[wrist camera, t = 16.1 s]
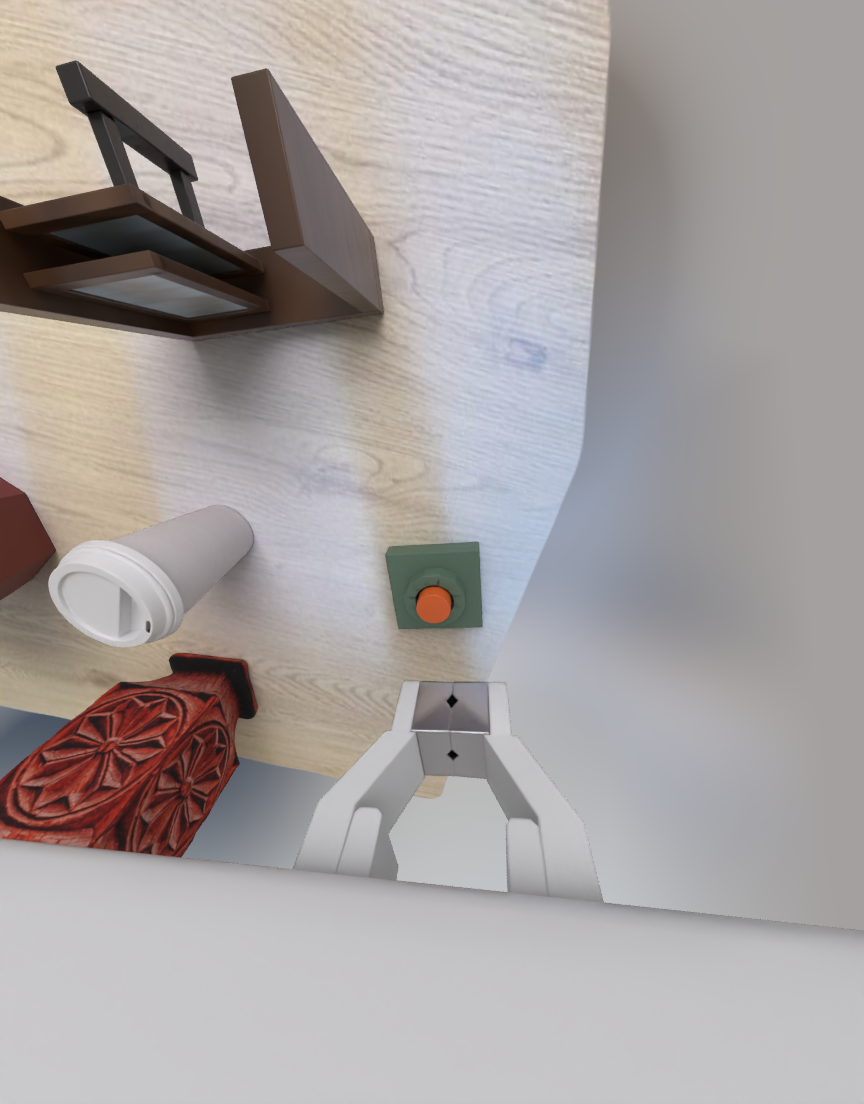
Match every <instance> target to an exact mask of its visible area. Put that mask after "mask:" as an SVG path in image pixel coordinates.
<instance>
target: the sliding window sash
mask: <svg viewBox="0 0 864 1104" xmlns="http://www.w3.org/2000/svg"><path fill="white" fill-rule="evenodd" d="M56 70H57V73H58V75H59V78H60V80H61V83H62V86H63V88H64V91H65V93H66V96H67V98H68V101H69V103H70V104H71V105H72V106H73V107H75V108H76V109H77V110H79V111H80V112H82V113H83V114H85V115H86V116H87V117H88V118H89V121H90V124H91V126H92V129H93V132H94V134H95V137H96V140H97V142H98V145H99V148H100V150H101V153H102V156H103V158H104V161H105V164H106V166H107V169H108V172H109V174H110V177H111V180H112V182H113V185H114V187H109V188H105V189H100V190H96V191H91V192H86V193H82V194H77V195H73V196H68V197H63V198H59V199H54V200H50V201H45V202H40V203H36V204H31V205H27V206H22V207H17V208H13V209H8V210H4V211H0V219H1V221H2V223H3V225H4V227H5V229H6V230H8V231H11V232H14V233H17V234H20V235H23V236H26V237H30V238H33V239H36V240H39V241H42V242H45V243H48V244H51V245H54V246H57V247H60V248H63V249H66V250H68V251H71V252H74V253H77V254H80V255H83V256H86V257H89V258H92V259H95V260H98V259H103V258H108V257H114V256H119V255H124V254H130V253H135V252H140V251H146V250H150V251H152V252H154V253H157V254H159V255H161V256H164V257H166V258H169V259H171V260H173V261H176V262H178V263H180V264H183V265H185V266H187V267H190V268H192V269H195V270H197V271H199V272H202V273H204V274H206V275H209V276H211V277H214V278H216V279H218V280H226V279H232V278H238V277H244V276H250V275H256V274H262V273H264V269H263V265H262V262H261V261H259V260H257V259H256V258H254V257H252V256H250V255H249V254H247V253H245V252H244V251H242V250H240V249H239V248H237V247H235V246H234V245H232V244H230V243H229V242H227V241H225V240H224V239H222V238H220V237H219V236H217V235H215V234H213V233H212V232H210V231H208V230H207V229H205V227H204V224H203V220H202V217H201V214H200V210H199V207H198V204H197V200H196V197H195V194H194V190H193V187H192V184H191V182H193V181H198V177H197V174H196V170H195V167H194V163H193V160H192V157H191V155H190V154H189V153H188V152H187V151H185V150H184V149H183V148H182V147H181V146H179V145H178V144H177V143H176V142H175V141H173V140H172V139H171V138H170V137H169V136H167V135H166V134H165V133H164V132H163V131H161V130H160V129H159V128H158V127H157V126H155V125H154V124H153V123H152V122H151V121H149V120H148V119H147V118H146V117H144V116H143V115H142V114H141V113H140V112H138V111H137V110H136V109H135V108H134V107H132V106H131V105H130V104H129V103H128V102H126V101H125V100H124V99H123V98H122V97H120V96H119V95H118V94H117V93H116V92H114V91H113V90H112V89H111V88H110V87H108V86H107V85H106V84H105V83H104V82H102V81H101V80H100V79H99V78H98V77H96V76H95V75H94V74H93V73H92V72H90V71H89V70H88V69H87V68H86V67H84V66H83V65H82V64H81V63H80V62H78V61H72V62H69V63H65V64H62V65H58V66H56ZM122 141H123V142H124V143H126V144H127V145H128V146H130V147H131V148H133V149H134V150H135V151H137V152H138V153H140V154H141V155H143V156H144V157H145V158H147V159H148V160H150V161H151V162H152V163H154V164H155V165H157V166H158V167H160V168H161V169H162V170H164V171H165V172H167V173H168V174H169V175H170V177H171V180H172V184H173V187H174V190H175V193H176V196H177V199H178V202H179V205H180V209H181V212H182V214H180V213H178V212H177V211H175V210H173V209H172V208H170V207H168V206H167V205H165V204H163V203H162V202H160V201H158V200H156V199H155V198H153V197H151V196H150V195H148V194H147V193H145V192H144V191H142V190H140V189H139V187H138V185H137V182H136V179H135V176H134V173H133V170H132V168H131V165H130V162H129V159H128V156H127V153H126V151H125V148H124V145H123V142H122Z"/></svg>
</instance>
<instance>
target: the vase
mask: <svg viewBox="0 0 864 1104" xmlns="http://www.w3.org/2000/svg"><path fill="white" fill-rule="evenodd" d="M169 662H170V666H171V669H172V671H173V674H171V675H169V676H166V677H163V678H160V679H156V680H153V681H146V682H120V683H118V684H117V685H115V686H114V687H113V688H111V689H110V690H109V691H107V692H106V693H104V694H103V695H102V696H101V697H100V698H99V699H98V700H97V701H95V702H94V704H93V705H91V706H90V707H88V708H87V709H86V710H85V711H84V712H82V713H81V714H79V715H78V716H77V717H75V718H74V719H73V720H71V721H70V722H68V723H67V724H66V725H65V726H64V727H62V728H61V729H60V730H59V731H58V732H57V733H56V734H55V735H54V736H53V737H52V738H51V739H50V740H48V741H47V742H45V743H44V744H42V745H41V746H39V747H38V748H37V749H36V750H35V751H34V752H33V753H32V754H31V755H29V756H28V757H26V758H25V759H24V760H23V761H21V762H20V763H19V764H18V765H17V766H16V767H15V768H14V769H12V770H11V771H10V772H9V773H8V774H7V775H6V776H5V777H3V778H2V779H1V780H0V838H2V839H12V840H21V841H31V842H40V843H50V844H59V845H69V846H78V847H88V848H97V849H106V850H116V851H125V852H135V853H144V854H153V855H163V856H172V857H182V855H183V854H184V852H185V851H186V850H187V848H188V847H189V845H190V844H191V842H192V841H193V838H194V836H195V834H196V832H197V830H198V829H199V827H200V826H201V825H202V823H203V822H204V821H205V819H206V818H207V816H208V815H209V813H210V811H211V809H212V807H213V805H214V803H215V802H216V800H217V798H218V797H219V795H220V793H221V792H222V790H223V789H224V787H225V786H226V784H227V782H228V781H229V779H230V777H231V776H232V774H233V772H234V771H235V769H236V768H237V767H238V766H239V764H240V763H239V760H238V757H237V753H236V748H235V728H236V723H237V720H238V717H239V718H244V719H251V718H253V717H254V716H255V714H256V712H257V709H258V706H257V704H256V701H255V697H254V693H253V690H252V687H251V684H250V680H249V679H248V671H247V663H246V662H245V661H242V660H237V659H229V658H220V657H212V656H204V655H197V654H187V653H177V654H174V655H172V656H171V657H170V659H169Z"/></svg>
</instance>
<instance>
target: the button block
mask: <svg viewBox="0 0 864 1104" xmlns="http://www.w3.org/2000/svg"><path fill="white" fill-rule="evenodd" d="M385 556H386V561H387V567H388V572H389V578H390V583H391V589H392V594H393V600H394V605H395V611H396V616H397V622H398V627H399V629H419V628H469V627H483V626H482V603H481V580H480V557H479V542H469V543H450V544H431V545H412V546H392V547H389V549H388V551H387V553H386V555H385ZM431 586H437V587H441V588H443V589H445V590H446V591H447V592H448V593H449V594H450V596H451V613H450V615H449V617H448V618H447V619H446V620H445V621H443V622H440V623H429V622H426V621H424V620H423V619H421V618H420V617H419V615H418V613H417V610H416V606H417V601H418V597H419V594H420V592H421V591H422V590H424V589H425V588H427V587H431Z"/></svg>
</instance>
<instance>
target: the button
mask: <svg viewBox="0 0 864 1104" xmlns="http://www.w3.org/2000/svg"><path fill="white" fill-rule="evenodd" d="M416 610H417V613H418V615H419V617H420V618H421V619H423V620H424V621H426V622H429V623H440V622H443V621H445V620H446V619H447V618H448V617H449V615H450V613H451V596H450V594H449V593H448V592H447V591H446V590H445V589H443V588H441V587H437V586H431V587H427V588H425V589H424V590H422V591H421V592H420V594H419V597H418V601H417V606H416Z"/></svg>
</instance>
